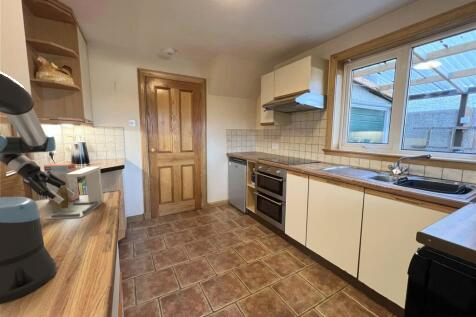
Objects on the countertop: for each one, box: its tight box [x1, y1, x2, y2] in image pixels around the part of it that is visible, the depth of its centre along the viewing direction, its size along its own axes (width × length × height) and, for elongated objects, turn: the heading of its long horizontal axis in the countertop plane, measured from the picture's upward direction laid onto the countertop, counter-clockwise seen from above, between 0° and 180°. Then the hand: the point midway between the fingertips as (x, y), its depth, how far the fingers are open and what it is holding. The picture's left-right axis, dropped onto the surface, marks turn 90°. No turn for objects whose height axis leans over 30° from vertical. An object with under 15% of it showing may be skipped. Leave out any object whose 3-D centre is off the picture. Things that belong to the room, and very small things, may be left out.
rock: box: [50, 186, 69, 210], centre depth 100 cm, size 11×9×10 cm
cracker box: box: [43, 163, 80, 202], centre depth 116 cm, size 14×6×21 cm, turn 84°
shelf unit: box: [44, 166, 105, 221], centre depth 102 cm, size 21×15×20 cm
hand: (67, 198), depth 101 cm, fingers closed on rock, 7 cm apart
